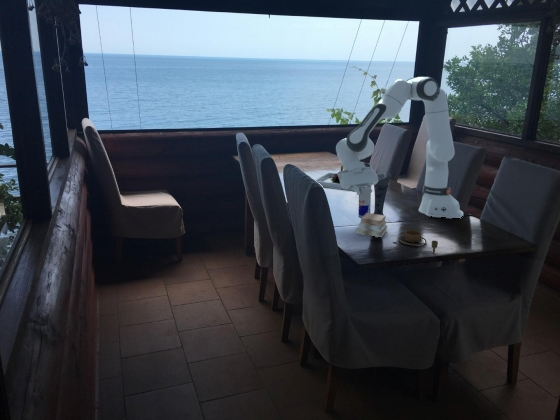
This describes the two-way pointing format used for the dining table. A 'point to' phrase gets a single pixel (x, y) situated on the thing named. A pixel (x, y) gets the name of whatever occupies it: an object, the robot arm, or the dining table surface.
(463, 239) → the dining table surface
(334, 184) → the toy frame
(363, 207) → the beverage can
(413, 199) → the dining table surface
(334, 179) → the fire station toy set
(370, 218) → the stacked square slabs
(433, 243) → the place setting
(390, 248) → the dining table surface
